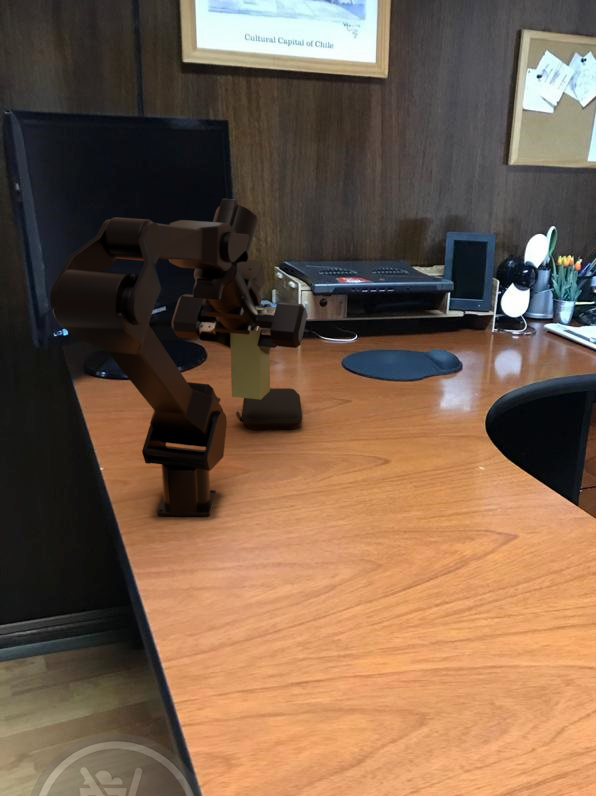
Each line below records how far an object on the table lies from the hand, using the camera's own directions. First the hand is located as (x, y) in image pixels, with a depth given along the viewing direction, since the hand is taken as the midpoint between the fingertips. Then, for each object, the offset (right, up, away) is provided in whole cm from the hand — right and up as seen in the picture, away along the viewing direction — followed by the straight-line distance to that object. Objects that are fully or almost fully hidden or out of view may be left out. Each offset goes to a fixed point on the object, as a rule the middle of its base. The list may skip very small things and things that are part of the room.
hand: (253, 350), depth 118 cm
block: (-1, -7, +1) cm, 7 cm away
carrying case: (+1, -10, +12) cm, 16 cm away
